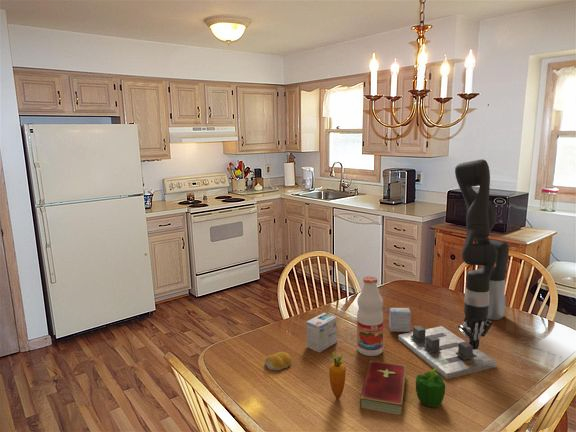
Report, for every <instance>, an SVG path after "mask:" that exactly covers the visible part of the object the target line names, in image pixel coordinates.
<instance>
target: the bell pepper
mask: <svg viewBox="0 0 576 432" xmlns="http://www.w3.org/2000/svg"><path fill="white" fill-rule="evenodd" d="M436 372H437V369H435V368H434V369H433V368H432V369H431V371H426V372H424V373H423V374H417V376H416V379H415V393H416V395H417V399H418V400H419V402H420V403H421V404H422V405H424V406H428V407H430V408H432V409H434V408H438V407H440V406H441V404H442V403H443V401H444V398H445V394H446V384H445V381H444V380H443V376H442V375H441V374H437V373H436Z"/></svg>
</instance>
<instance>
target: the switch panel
mask: <svg viewBox="0 0 576 432" xmlns="http://www.w3.org/2000/svg"><path fill="white" fill-rule="evenodd" d="M425 329H426V328H425ZM411 335H413V331H410V332H405V333H401V334H398V338H397V339H398V341H399V342H401V343H402V344H403V345H404V346H405V347H407V348H408V349H409V350H410V351H412V352H413V353H414V354H415V355H416V356H418V357H419V358H420V359H421V360H422V361H424V362H425V363H426V364H427V365H428V366H430V367H431V368H432V370H433V369H434V368H435V369H437V371H436V372H437V373H438V374H439V375H441V377H442V378H444V379H446V380H448V379H452V378H457V377H461V376H465V375H469V374H474V373H477V372H481V371H482V372H483V371H484V370H485V371H487V370H489V369H493V368H497V361H496V360H495V359H494V358H492V357H490V356H489V355H488V354H487V353H484V352H483V351H481V350H479V348H478V349H476V350H473V355H474V356H475V357H474V358H470V359H466V360H464V359H462V358H461V357H459V356H458V355H457V354H456V352H458V346H459V343H461V342H465V341H466V340H464V339H462V337H459V336H458V335H457V334H455V333H454V332H452V331H450V330H449V329H448V328H445V327H444V326H443V325H442V326H441V325H440V326H436V327H431V328H427V329H426V332H425V337H426V336H430V335H434V336H436V337H437V338H439V339H440V341H439V347H440V348H441V350H440V351H435V352H430V351H428V350H427V349H426V348H424V345H426V340H424V341H419V342H417V341H415V340H414V339H413V338H411Z"/></svg>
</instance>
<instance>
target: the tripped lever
mask: <svg viewBox="0 0 576 432" xmlns="http://www.w3.org/2000/svg"><path fill="white" fill-rule="evenodd" d="M464 341H465V342H461V343H459V346H458V352H456V354H457V355H458V356H459V357H461V358H462V359H464V360H466V359H470V358H474V357H475V356H474V355H473V346H472V345H471V344H469V343H470V342H467V341H466V340H464Z"/></svg>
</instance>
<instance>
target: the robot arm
mask: <svg viewBox="0 0 576 432" xmlns="http://www.w3.org/2000/svg"><path fill="white" fill-rule="evenodd" d="M454 174H455V178H456V179H455V180H456V183H457V184H458V188H459V189H460V192H461V194H462V197H463V200H464V203H465V206H466V211H467V212H466V215H465V216H466V217H465V222H466V223H465V224H466V226H465V227H466V236H465V237H466V238H465V242H464V244H463V249H462V252H461V257H462V261H463V262H464V264H466V265H470V266H482V267H480V268H479V269H474V270H469V271H467V273H466V281H465V282H466V284H465V293H464V303H463V304H464V305H463V313H464V318H463V323H462V324H458V326H457V327H458V329H459V331H460V332H461V333H462V335H463V337H465V338H467V339H469V342H468V343H469V344H471V345H472V346H473V350H476V349H478V350H479V346H480V339H481V338H482V337H483V338H484V337H485V336H486V334H487V333H488V332H489V330H490V329H491V327H492V326H493V322H492V321H493V320H494V321H496V320H497V321H498V320H502V319H503V318H504V317H505V314H506V301H507V300H506V299H507V295H506V294H505V290H506V289H505V287H506V275H507V271H508V270H507V268H508V259H509V252H510V248H509V247H510V246H509V244H508V243H507V242H506V241H501V240H495V239H490V238H489V237H490V232H491V231H492V229H493V228H494V226H495V225H496V222H497V217H496V216H497V215H496V212H495V209H494V206H493V204H492V203H491V202H490V189H491V188H490V187H491V172H490V167H489V164H488V162H487V160H486V159H476V160H470V161H465V162H460V163H459V164H457V165H456V166H455V169H454ZM478 186H479V187H478ZM474 187H478V188H479V189H478V192H477V191H475V190H474ZM475 242H476V243H475ZM491 320H492V321H491Z"/></svg>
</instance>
